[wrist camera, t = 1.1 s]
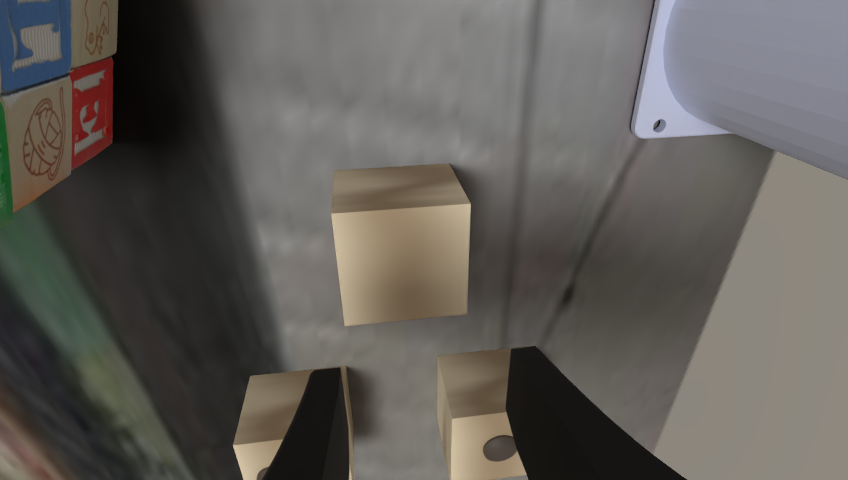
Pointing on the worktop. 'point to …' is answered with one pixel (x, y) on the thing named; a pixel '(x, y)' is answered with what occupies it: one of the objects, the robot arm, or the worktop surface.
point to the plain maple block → (401, 243)
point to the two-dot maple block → (275, 419)
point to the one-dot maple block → (476, 415)
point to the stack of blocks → (52, 92)
